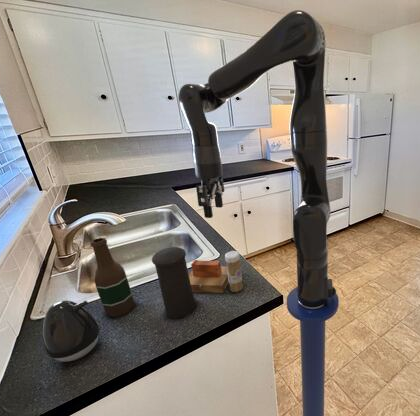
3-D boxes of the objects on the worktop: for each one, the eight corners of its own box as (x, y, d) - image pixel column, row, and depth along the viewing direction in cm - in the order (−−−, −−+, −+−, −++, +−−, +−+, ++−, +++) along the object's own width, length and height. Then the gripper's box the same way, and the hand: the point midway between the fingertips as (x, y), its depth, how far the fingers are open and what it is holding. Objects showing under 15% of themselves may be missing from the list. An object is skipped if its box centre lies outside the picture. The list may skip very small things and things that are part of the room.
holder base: (234, 271, 100) (233, 264, 99) (222, 295, 88) (220, 287, 87) (197, 270, 101) (196, 263, 100) (180, 294, 89) (178, 286, 87)
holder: (221, 273, 94) (219, 260, 92) (219, 277, 92) (217, 264, 90) (196, 272, 95) (194, 259, 93) (193, 276, 92) (191, 263, 90)
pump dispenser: (96, 361, 66) (76, 312, 60) (43, 375, 62) (17, 325, 57) (110, 330, 74) (93, 285, 69) (64, 341, 71) (43, 294, 66)
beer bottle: (130, 315, 80) (107, 244, 71) (100, 320, 78) (73, 248, 69) (139, 298, 87) (119, 232, 78) (112, 302, 85) (88, 235, 76)
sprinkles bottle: (238, 293, 88) (233, 258, 83) (226, 290, 90) (221, 256, 85) (246, 285, 92) (242, 251, 87) (234, 282, 94) (230, 249, 89)
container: (199, 297, 87) (188, 243, 80) (192, 317, 79) (180, 259, 71) (170, 300, 86) (157, 245, 78) (161, 321, 77) (145, 262, 70)
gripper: (210, 166, 70) (217, 221, 76) (228, 155, 84) (233, 204, 90) (182, 165, 71) (192, 221, 77) (204, 155, 84) (211, 203, 90)
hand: (214, 212), depth 83 cm, fingers open, 8 cm apart
